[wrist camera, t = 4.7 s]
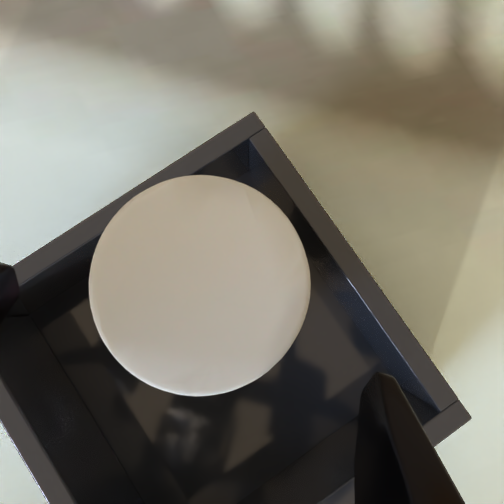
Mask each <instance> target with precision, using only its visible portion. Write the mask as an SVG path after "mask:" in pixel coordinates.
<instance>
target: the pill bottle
mask: <svg viewBox="0 0 504 504" xmlns="http://www.w3.org/2000/svg"><path fill="white" fill-rule="evenodd" d="M310 289H311V281H310V270H309V265H308V260H307V257H306V254H305V250H304V248H303V245H302V242H301V240H300V238H299V236H298V234H297V232H296V230H295V228H294V227H293V225H292V223H291V222H290V220H289V219H288V218H287V216H286V215H285V214H284V213H283V212H282V211H281V209H280V208H279V207H278V206H277V205H276V204H274V203H273V202H272V201H271V200H270V199H269V198H267V197H266V196H265V195H263V194H262V193H260V192H259V191H257V190H256V189H254V188H252V187H250V186H248V185H245V184H243V183H240V182H237V181H235V180H231V179H228V178H223V177H217V176H211V175H190V176H183V177H177V178H173V179H169V180H166V181H163V182H161V183H158V184H156V185H154V186H152V187H150V188H148V189H146V190H144V191H143V192H141V193H139V194H138V195H136V196H135V197H133V198H132V199H131V200H130V201H128V202H127V203H126V204H125V205H124V206H123V207H122V208H121V209H120V210H119V211H118V212H117V213H116V214H115V216H114V217H113V218H112V220H111V221H110V222H109V224H108V225H107V227H106V228H105V230H104V232H103V233H102V235H101V237H100V239H99V242H98V244H97V246H96V249H95V252H94V255H93V259H92V263H91V268H90V274H89V300H90V307H91V311H92V315H93V319H94V322H95V325H96V327H97V330H98V332H99V334H100V336H101V338H102V340H103V342H104V344H105V345H106V347H107V348H108V349H109V351H110V352H111V354H112V355H113V356H114V358H115V359H116V360H117V361H118V362H119V363H120V364H121V365H122V366H123V367H124V368H125V369H126V370H127V371H129V372H130V373H131V374H132V375H134V376H135V377H137V378H138V379H140V380H142V381H143V382H145V383H147V384H148V385H151V386H153V387H155V388H158V389H160V390H163V391H166V392H170V393H174V394H179V395H186V396H210V395H217V394H222V393H226V392H230V391H233V390H236V389H238V388H240V387H243V386H245V385H247V384H249V383H251V382H253V381H255V380H256V379H258V378H260V377H261V376H262V375H264V374H265V373H267V372H268V371H269V370H270V369H271V368H272V367H273V366H274V365H275V364H276V363H278V362H279V361H280V360H281V359H282V357H283V356H284V355H285V354H286V352H287V351H288V350H289V348H290V347H291V345H292V344H293V342H294V340H295V339H296V337H297V335H298V333H299V331H300V329H301V327H302V325H303V322H304V320H305V316H306V313H307V310H308V305H309V300H310Z"/></svg>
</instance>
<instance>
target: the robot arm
mask: <svg viewBox="0 0 504 504" xmlns="http://www.w3.org/2000/svg"><path fill="white" fill-rule="evenodd" d="M19 293H20V288H19V284H18V280H17V276H16V272H15V269H14V268H13V267H12V266H11V265H8V264H4V263H1V262H0V326H1V324H2V322H3V321H4V319H5V318H6V316H7V314H8V313H9V311H10V310H11V308H12V306H13V305H14V303H15V302H16V300H17V298H18V296H19ZM354 491H355V504H465V502H464V500H463V499H462V497H461V495H460V493H459V491H458V490H457V488H456V486H455V484H454V482H453V481H452V479H451V477H450V475H449V474H448V472H447V470H446V468H445V466H444V465H443V463H442V461H441V459H440V457H439V456H438V454H437V452H436V450H435V449H434V447H433V445H432V443H431V441H430V440H429V438H428V436H427V434H426V432H425V431H424V429H423V427H422V425H421V424H420V422H419V420H418V418H417V416H416V415H415V413H414V411H413V409H412V407H411V406H410V404H409V402H408V400H407V398H406V397H405V395H404V393H403V391H402V390H401V388H400V386H399V384H398V382H397V381H396V379H395V378H394V377H393V376H391V375H388V374H385V373H382V372H376V373H374V374H373V376H372V377H371V378H370V380H369V381H368V383H367V384H366V385H365V387H364V388H363V390H362V393H361V396H360V405H359V415H358V426H357V436H356V446H355V459H354Z"/></svg>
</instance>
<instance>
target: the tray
mask: <svg viewBox="0 0 504 504" xmlns="http://www.w3.org/2000/svg"><path fill="white" fill-rule="evenodd" d="M190 175H211V176H217V177H223V178H228V179H231V180H235V181H237V182H240V183H243V184H245V185H248V186H250V187H252V188H254V189H256V190H257V191H259V192H260V193H262V194H263V195H265V196H266V197H267V198H269V199H270V200H271V201H272V202H273V203H274V204H276V205H277V206H278V207H279V208H280V209H281V211H282V212H283V213H284V214H285V215H286V216H287V218H288V219H289V220H290V222H291V223H292V225H293V227H294V228H295V230H296V232H297V234H298V236H299V238H300V240H301V242H302V245H303V248H304V250H305V254H306V257H307V260H308V265H309V270H310V281H311V289H310V300H309V305H308V310H307V313H306V316H305V320H304V322H303V325H302V327H301V329H300V331H299V333H298V335H297V337H296V339H295V340H294V342H293V344H292V345H291V347H290V348H289V350H288V351H287V352H286V354H285V355H284V356H283V357H282V359H281V360H280V361H279V362H278V363H276V364H275V365H274V366H273V367H272V368H271V369H270V370H269V371H268V372H267V373H265V374H264V375H262V376H261V377H260V378H258V379H256V380H255V381H253V382H251V383H249V384H247V385H245V386H243V387H240V388H238V389H236V390H233V391H230V392H226V393H222V394H217V395H210V396H186V395H179V394H174V393H170V392H166V391H163V390H160V389H158V388H155V387H153V386H151V385H148V384H147V383H145V382H143V381H142V380H140V379H138V378H137V377H135V376H134V375H132V374H131V373H130V372H129V371H127V370H126V369H125V368H124V367H123V366H122V365H121V364H120V363H119V362H118V361H117V360H116V359H115V358H114V356H113V355H112V354H111V352H110V351H109V349H108V348H107V347H106V345H105V344H104V342H103V340H102V338H101V336H100V334H99V332H98V330H97V327H96V325H95V322H94V319H93V315H92V311H91V307H90V300H89V274H90V268H91V263H92V259H93V255H94V252H95V249H96V246H97V244H98V242H99V239H100V237H101V235H102V233H103V232H104V230H105V228H106V227H107V225H108V224H109V222H110V221H111V220H112V218H113V217H114V216H115V214H116V213H117V212H118V211H119V210H120V209H121V208H122V207H123V206H124V205H125V204H126V203H127V202H128V201H130V200H131V199H132V198H133V197H135V196H136V195H138V194H139V193H141V192H143V191H144V190H146V189H148V188H150V187H152V186H154V185H156V184H158V183H161V182H163V181H166V180H169V179H173V178H177V177H183V176H190ZM12 267H13V268H14V269H15V272H16V276H17V280H18V284H19V288H20V293H19V296H18V298H17V300H16V302H15V303H14V305H13V306H12V308H11V310H10V311H9V313H8V314H7V316H6V318H5V319H4V321H3V322H2V324H1V326H0V422H1V424H2V425H3V427H4V429H5V430H6V432H7V434H8V436H9V437H10V439H11V441H12V442H13V444H14V446H15V448H16V449H17V451H18V453H19V454H20V456H21V458H22V459H23V461H24V463H25V465H26V466H27V468H28V470H29V471H30V473H31V475H32V476H33V478H34V480H35V482H36V483H37V485H38V487H39V488H40V490H41V492H42V493H43V495H44V497H45V499H46V500H47V502H48V504H355V491H354V459H355V446H356V436H357V426H358V415H359V405H360V396H361V393H362V390H363V388H364V387H365V385H366V384H367V383H368V381H369V380H370V378H371V377H372V376H373V374H374V373H376V372H382V373H385V374H388V375H391V376H393V377H394V378H395V379H396V381H397V382H398V384H399V386H400V388H401V390H402V391H403V393H404V395H405V397H406V398H407V400H408V402H409V404H410V406H411V407H412V409H413V411H414V413H415V415H416V416H417V418H418V420H419V422H420V424H421V425H422V427H423V429H424V431H425V432H426V434H427V436H428V438H429V440H430V441H431V443H432V445H433V447H435V446H436V445H437V444H439V443H440V442H441V441H443V440H444V439H445V438H447V437H448V436H449V435H451V434H452V433H453V432H455V431H456V430H457V429H459V428H460V427H461V426H463V425H464V424H465V423H467V422H468V421H469V420H471V416H470V414H469V413H468V412H467V410H466V409H465V407H464V406H463V405H462V403H461V402H460V400H458V397H457V396H456V394H455V393H454V392H453V390H452V389H451V387H450V386H449V385H448V383H447V382H446V380H445V379H444V378H443V376H442V375H441V373H440V372H439V371H438V369H437V368H436V366H435V365H434V363H433V362H432V361H431V359H430V358H429V356H428V355H427V354H426V352H425V351H424V349H423V348H422V347H421V345H420V344H419V342H418V341H417V340H416V338H415V337H414V335H413V334H412V333H411V331H410V330H409V328H408V327H407V325H406V324H405V323H404V321H403V320H402V318H401V317H400V316H399V314H398V313H397V311H396V310H395V309H394V307H393V306H392V304H391V303H390V302H389V300H388V299H387V297H386V296H385V294H384V293H383V292H382V290H381V289H380V287H379V286H378V285H377V283H376V282H375V280H374V279H373V278H372V276H371V275H370V273H369V272H368V271H367V269H366V268H365V266H364V265H363V263H362V262H361V261H360V259H359V258H358V256H357V255H356V254H355V252H354V251H353V249H352V248H351V247H350V245H349V244H348V242H347V241H346V240H345V238H344V237H343V235H342V234H341V233H340V231H339V230H338V228H337V227H336V225H335V224H334V223H333V221H332V220H331V218H330V217H329V216H328V214H327V213H326V211H325V210H324V209H323V207H322V206H321V204H320V203H319V202H318V200H317V199H316V197H315V196H314V194H313V193H312V192H311V190H310V189H309V187H308V186H307V185H306V183H305V182H304V180H303V179H302V178H301V176H300V175H299V173H298V172H297V171H296V169H295V168H294V166H293V165H292V164H291V162H290V161H289V159H288V158H287V156H286V155H285V154H284V152H283V151H282V149H281V148H280V147H279V145H278V144H277V142H276V141H275V140H274V138H273V137H272V135H271V134H270V133H269V131H268V130H267V128H265V126H264V124H263V123H262V122H261V120H260V119H259V117H258V116H257V115H256V113H255V112H252V113H250V114H249V115H247V116H246V117H244V118H242V119H241V120H239V121H238V122H236V123H235V124H233V125H232V126H230V127H228V128H227V129H225V130H224V131H222V132H221V133H219V134H218V135H216V136H214V137H213V138H211V139H210V140H208V141H207V142H205V143H203V144H202V145H200V146H199V147H197V148H196V149H194V150H193V151H191V152H189V153H188V154H186V155H185V156H183V157H182V158H180V159H179V160H177V161H175V162H174V163H172V164H171V165H169V166H168V167H166V168H165V169H163V170H161V171H160V172H158V173H157V174H155V175H154V176H152V177H151V178H149V179H147V180H146V181H144V182H143V183H141V184H140V185H138V186H137V187H135V188H133V189H132V190H130V191H129V192H127V193H126V194H124V195H123V196H121V197H119V198H118V199H116V200H115V201H113V202H112V203H110V204H109V205H107V206H105V207H104V208H102V209H101V210H99V211H98V212H96V213H94V214H93V215H91V216H90V217H88V218H87V219H85V220H84V221H82V222H80V223H79V224H77V225H76V226H74V227H73V228H71V229H70V230H68V231H66V232H65V233H63V234H62V235H60V236H59V237H57V238H56V239H54V240H52V241H51V242H49V243H48V244H46V245H45V246H43V247H42V248H40V249H38V250H37V251H35V252H34V253H32V254H31V255H29V256H28V257H26V258H24V259H23V260H21V261H20V262H18V263H17V264H15V265H14V266H12Z"/></svg>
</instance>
